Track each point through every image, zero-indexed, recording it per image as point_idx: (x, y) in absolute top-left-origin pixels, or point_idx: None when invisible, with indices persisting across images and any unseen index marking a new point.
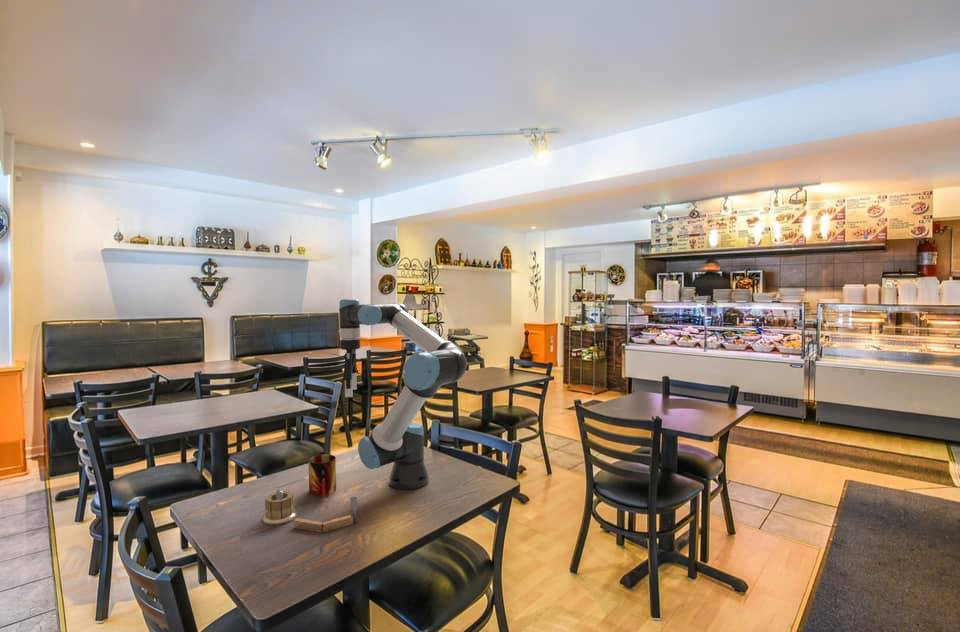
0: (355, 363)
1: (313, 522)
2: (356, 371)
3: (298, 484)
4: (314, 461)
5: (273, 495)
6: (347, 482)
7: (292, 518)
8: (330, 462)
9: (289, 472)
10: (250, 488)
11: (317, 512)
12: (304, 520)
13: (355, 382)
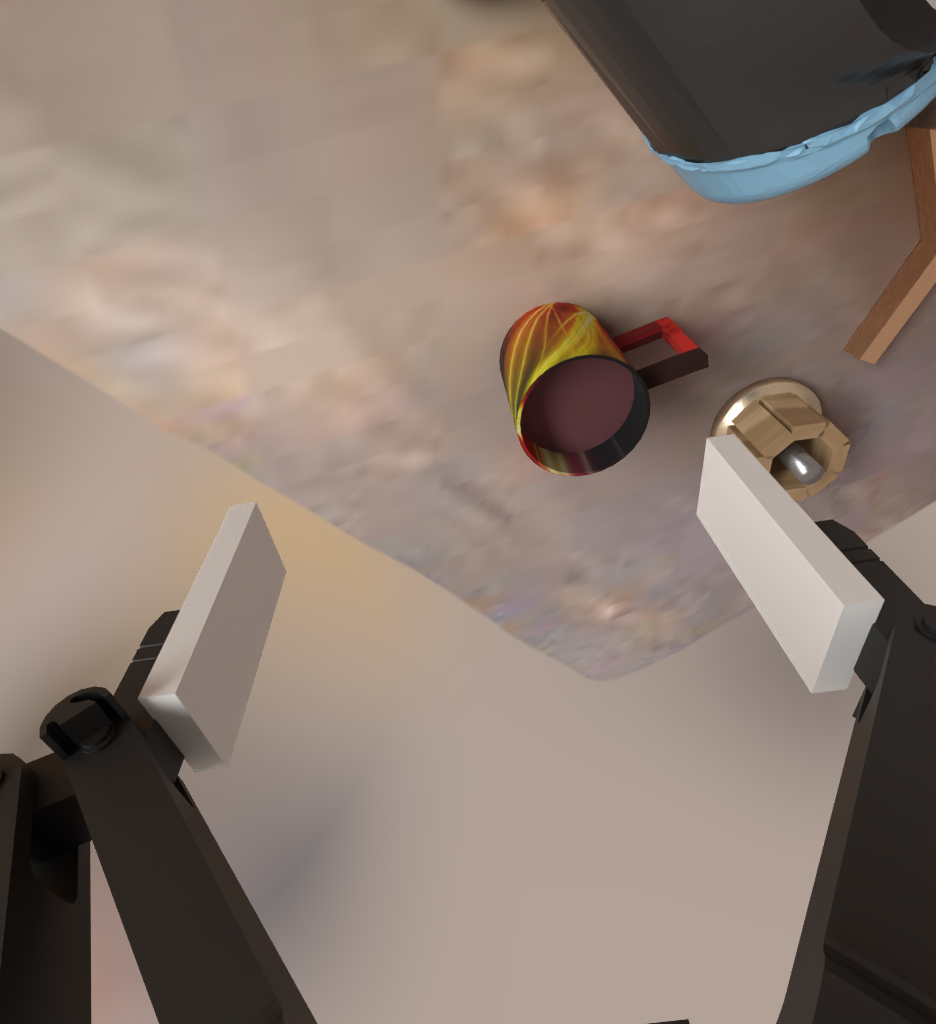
0: (12, 950)
1: (926, 284)
2: (102, 731)
3: (486, 467)
4: (539, 452)
5: None
6: (473, 272)
7: (797, 382)
8: (629, 364)
9: (371, 535)
10: (511, 589)
11: (760, 311)
12: (892, 325)
13: (234, 579)
